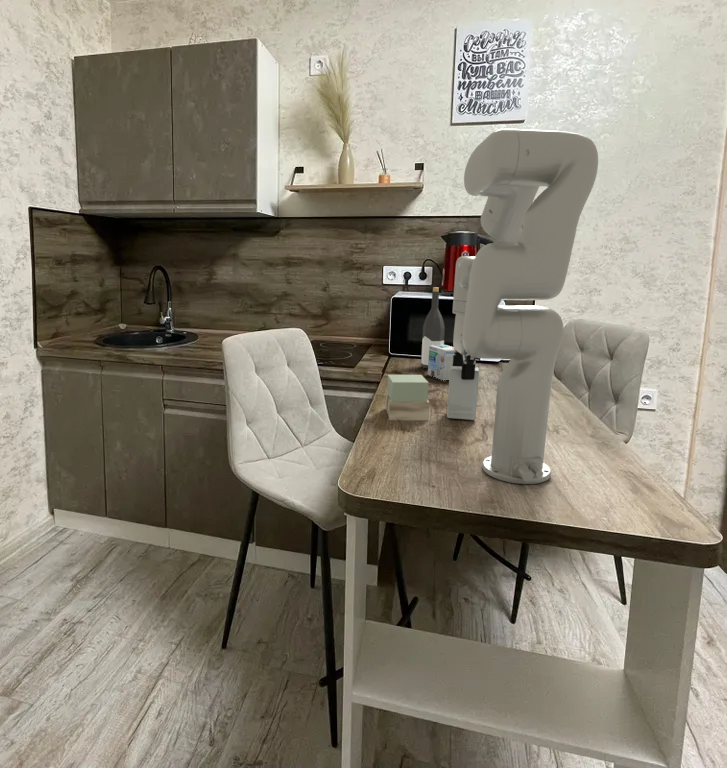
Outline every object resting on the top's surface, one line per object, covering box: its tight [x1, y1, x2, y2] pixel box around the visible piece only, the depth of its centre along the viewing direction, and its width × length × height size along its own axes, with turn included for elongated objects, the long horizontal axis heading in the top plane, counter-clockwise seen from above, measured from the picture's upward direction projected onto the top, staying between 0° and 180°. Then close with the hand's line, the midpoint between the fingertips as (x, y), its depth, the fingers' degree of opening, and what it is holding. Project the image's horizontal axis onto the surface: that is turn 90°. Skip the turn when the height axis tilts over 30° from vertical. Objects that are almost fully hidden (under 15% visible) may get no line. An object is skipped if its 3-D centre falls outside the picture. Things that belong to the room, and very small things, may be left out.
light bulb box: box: [427, 344, 455, 382], centre depth 179 cm, size 11×7×11 cm, turn 25°
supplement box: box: [446, 366, 480, 421], centre depth 133 cm, size 7×7×13 cm
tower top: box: [386, 374, 429, 402], centre depth 134 cm, size 9×9×5 cm
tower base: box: [385, 391, 430, 421], centre depth 135 cm, size 10×10×5 cm
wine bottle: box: [420, 286, 446, 369], centre depth 193 cm, size 8×8×30 cm
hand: (462, 374), depth 133 cm, fingers open, 9 cm apart
